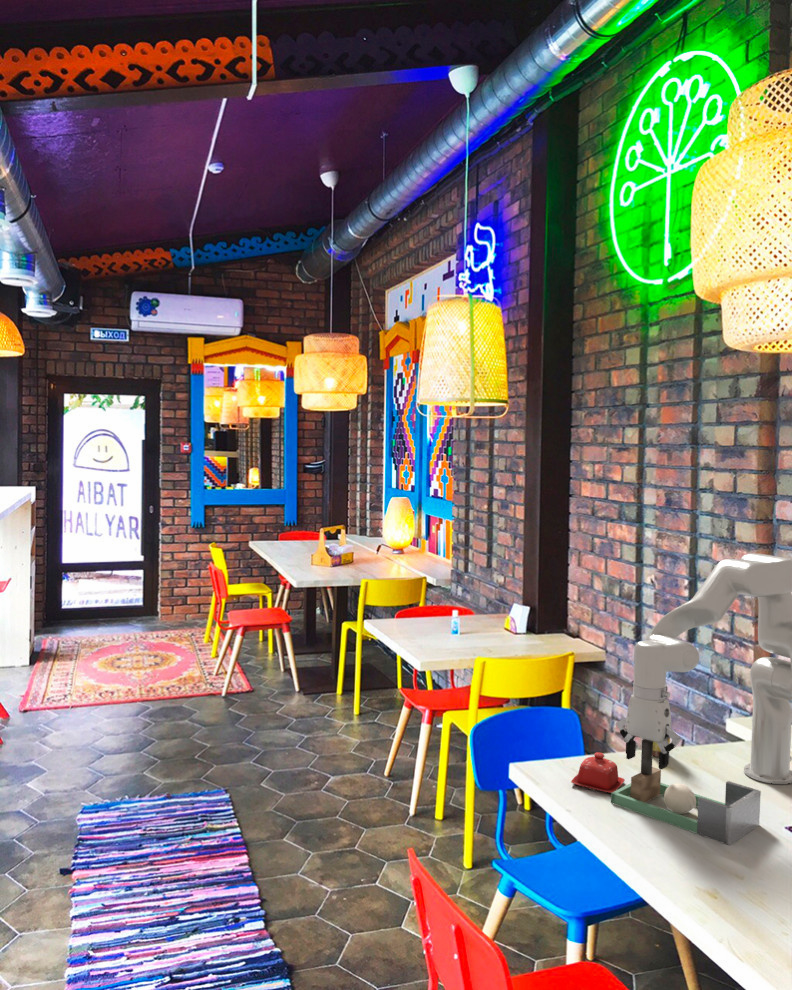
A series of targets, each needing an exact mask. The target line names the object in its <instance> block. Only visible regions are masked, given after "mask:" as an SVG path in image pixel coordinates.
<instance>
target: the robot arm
mask: <svg viewBox="0 0 792 990" xmlns="http://www.w3.org/2000/svg"><path fill="white" fill-rule="evenodd" d="M739 595H744V596H749V597H752V598H753V597H756V598H757V601H758V613H757V614H758V615H757V617H758V619H757V642H758V645H759V647H760V648H761V650H763V651H765V652H767V653H770V654H774V655H776V656H780V657H784V658H788V659H789V660H790V661H788V660H784V659H780V658H777V657H773V656H771V657H770V656H763V657H759V658H757V659H756V660H755V661H754V662H753V663H752V665H751V666H750V671H749V679H750V686H751V692H752V718H751V721H752V722H751V742H750V743H751V746H750V763H748V764H745V765H744V768H743V772H744V774H745V775H746V776H748V777H749V778H751V779H753V780H755V781H757V782H763V783H765V784H766V783H767V784H771V783H772V785H788V783H790V784H792V770H791V769H790V767H791V766H790V765H791V764H790V763H791V762H792V756H791V744H792V743H791V742H792V741H791V739H792V707H791V703H790V701H791V702H792V558H789V557H783V556H777V555H771V554H764V553H747V554H744V555H743V556H742V557H740V559H736V558H734V559H733V558H725V559H722V560H720V561H719V562H718V563H717V564H715V566H714V568H713V569H712V570H711V571H710V573H709V574H708V576H707V577H706V579H705V580H704V582H703V583H702V584H701V586H700V587H699V588H698V590H697V592H695V593H694V596H693V597H692V598H691V599H690V600H688V601H687V602H685V603H683V604H681V605H680V606H678V607H675V608H674V609H673V610H671V611H669V612H668V613H666V614H665V615H663V616H662V617H661V618H660V619H659V620H658V621H657V623H656V624H655V625H654V626H653V628H652V629H651V631H650V632H649V634H648V635H647V637H646V639H645V640H640V641H638V642H636V644H635V646H634V657H633V659H634V661H633V685H632V686H633V687H632V689H633V690H632V691H633V692H632V694H631V695H630V698H629V701H628V707H627V712H626V717H624V718H623V719H621V720H619V721H617V722H616V726H617V728H618V730H619V734H620V735H621V737H622V738H623V742H624V743H625V754H626V757H625V758H626V760H631V759H632V758H635V757H636V745H637V741H636V740H635V738H640V739H642V740H644V739H646V740H650V741H653V742H657V744H658V746H659V748H660V750H661V752H660V753H659V757H658V769H660V770H661V771H662V770H664V769H665V768H666V769H667V767H668V766H669V763H670V752H671V751H673V750H674V749H675V748H676V747H677V745H679V743H680V742H681V740H682V738H681V737H680V735H678V734H677V733H676V732H675V731H674V730H673V729H672V715H671V714H672V713H671V708H670V702H669V698H670V697H671V692H669V691H668V690H667V691H666V682H667V681H666V680H667V679H666V678H667V672H674V673H686V672H687V673H688V672H690V671H693V669H695V668H696V667H697V666H698V664H699V663H700V653H699V650H698V649H697V648H696V647H695V645H693V644H692V643H690V642H687V641H685V640H681V639H678V637H679V636H681V635H682V634H683V633H685V632H687V631H689V630H691V629H694V628H697V627H703V626H708V625H712V624H717V623H719V622H720V621H721V620H722V619H724V616H725V615H726V614H727V612H728V611H729V609H730V608H731V607H732V605H733V604H734V602H735V601H736V599H737V598H738V597H739ZM665 698H668V699H665ZM667 739H670V740H671V741H670V744H669V743H668V741H667Z"/></svg>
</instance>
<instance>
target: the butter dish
mask: <svg viewBox="0 0 792 990" xmlns="http://www.w3.org/2000/svg"><path fill="white" fill-rule="evenodd" d="M593 755H594V756H589V757H587V758H584V760H583V761H582V762H581V763H580V765H579V770H578V773H577V774H576V775H575V776H574V777H573V778H572V779H571V784H573V785H576V786H579V787H581V786H583V787H582V788H585V787H587V788H586V789H589V788H591V789H590V790H594V789H595V790H594V791H598V790H599V791H598V792H602V791H603V793H607V792H608V794H611V793H612V792H614V791H616V790H618V789H620V787H621V786H622V785H623V783H625V782H626V781H625V778H624V777H619V772H618V771H619V770H618V765H617V764H616V763H615V762H614V761H612V760H611V759H609V758H608V759H607V758H605V754H604V753H603V752H599V751H598V752H594V754H593Z"/></svg>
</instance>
